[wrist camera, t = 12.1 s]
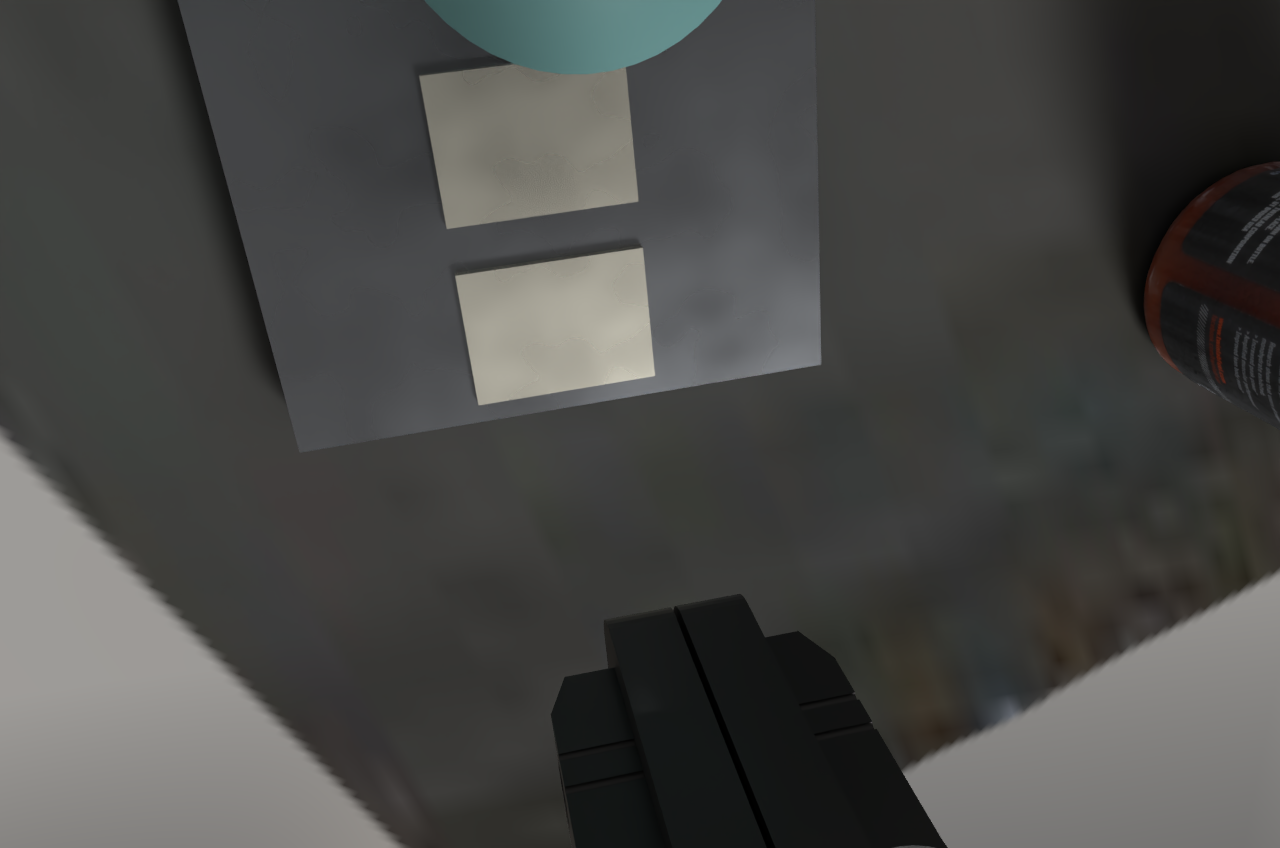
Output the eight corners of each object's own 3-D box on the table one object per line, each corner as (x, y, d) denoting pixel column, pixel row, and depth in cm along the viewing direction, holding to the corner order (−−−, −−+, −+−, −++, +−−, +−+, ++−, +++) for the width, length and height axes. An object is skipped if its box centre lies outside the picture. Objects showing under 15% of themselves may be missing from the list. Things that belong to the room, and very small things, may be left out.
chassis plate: (785, -224, 21) (1069, -336, 12) (800, 341, 26) (1002, 558, 17) (150, -167, 19) (-80, -247, 10) (305, 423, 24) (246, 710, 15)
